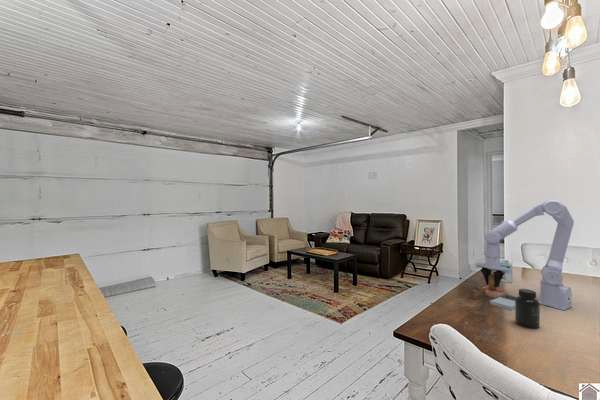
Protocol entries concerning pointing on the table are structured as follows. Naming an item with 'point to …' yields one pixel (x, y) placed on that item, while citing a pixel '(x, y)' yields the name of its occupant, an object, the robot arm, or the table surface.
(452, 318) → the table surface
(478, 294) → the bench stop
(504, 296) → the socket
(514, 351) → the table surface
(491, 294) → the tray
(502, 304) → the plate
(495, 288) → the dowel
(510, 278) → the light bulb box
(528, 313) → the supplement bottle
